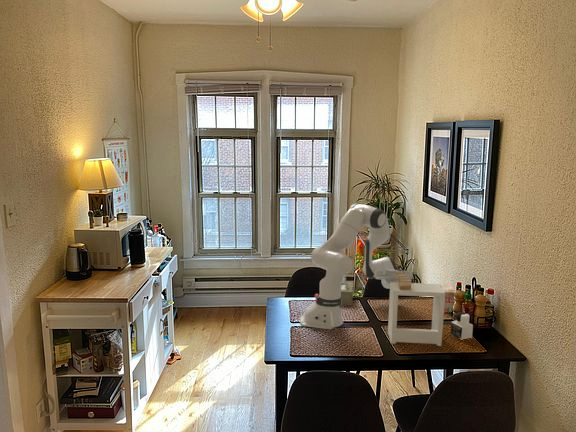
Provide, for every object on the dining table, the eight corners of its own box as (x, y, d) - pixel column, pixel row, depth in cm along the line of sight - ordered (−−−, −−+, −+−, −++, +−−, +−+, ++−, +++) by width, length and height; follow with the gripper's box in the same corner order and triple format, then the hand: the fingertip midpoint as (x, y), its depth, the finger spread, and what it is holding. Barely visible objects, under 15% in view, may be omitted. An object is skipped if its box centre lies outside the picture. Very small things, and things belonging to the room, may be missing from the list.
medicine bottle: (450, 335, 222) (451, 312, 220) (461, 332, 225) (463, 309, 222) (460, 341, 215) (462, 317, 213) (472, 338, 218) (474, 315, 216)
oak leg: (410, 290, 209) (411, 280, 208) (399, 289, 209) (400, 280, 208) (404, 277, 227) (404, 268, 227) (394, 277, 228) (394, 268, 227)
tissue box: (336, 293, 280) (337, 268, 277) (352, 294, 278) (353, 269, 275) (335, 304, 261) (336, 278, 258) (352, 305, 260) (353, 279, 257)
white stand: (391, 343, 212) (393, 290, 208) (387, 332, 224) (390, 282, 220) (441, 345, 210) (445, 292, 206) (435, 334, 222) (438, 283, 218)
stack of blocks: (435, 299, 271) (437, 279, 269) (446, 299, 270) (448, 279, 268) (442, 312, 250) (443, 291, 248) (454, 313, 249) (455, 292, 247)
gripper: (372, 271, 255) (375, 265, 242) (409, 272, 253) (414, 266, 240) (373, 282, 253) (375, 277, 240) (410, 283, 251) (415, 278, 238)
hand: (395, 271), depth 240 cm, fingers open, 8 cm apart
